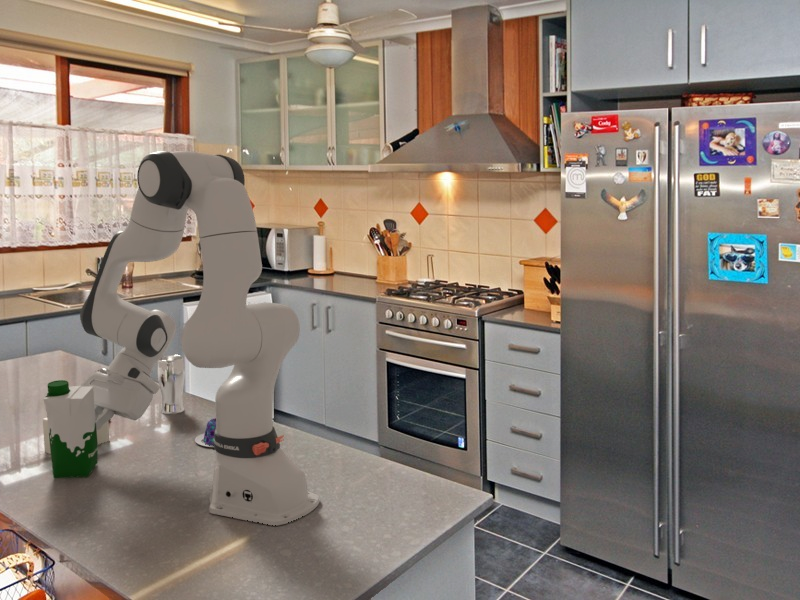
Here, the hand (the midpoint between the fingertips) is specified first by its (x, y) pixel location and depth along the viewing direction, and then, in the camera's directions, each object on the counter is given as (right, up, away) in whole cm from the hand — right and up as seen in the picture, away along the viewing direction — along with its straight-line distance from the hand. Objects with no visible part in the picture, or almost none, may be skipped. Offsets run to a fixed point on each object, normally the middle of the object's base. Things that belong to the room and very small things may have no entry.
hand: (91, 427), depth 164 cm
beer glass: (+6, -3, +40) cm, 40 cm away
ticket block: (-8, -7, +12) cm, 16 cm away
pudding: (+24, -7, +18) cm, 31 cm away
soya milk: (-2, -9, -2) cm, 10 cm away
